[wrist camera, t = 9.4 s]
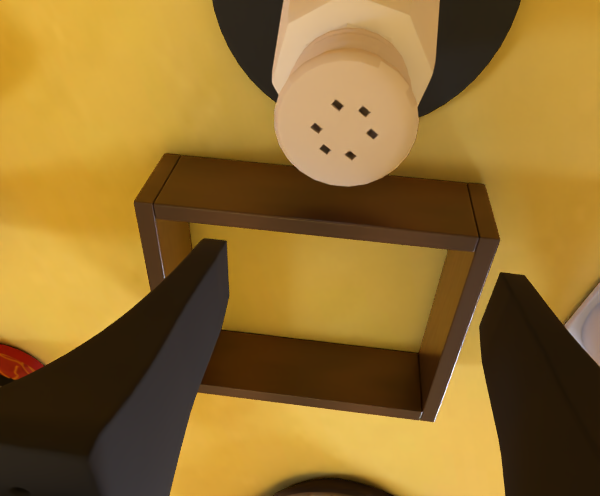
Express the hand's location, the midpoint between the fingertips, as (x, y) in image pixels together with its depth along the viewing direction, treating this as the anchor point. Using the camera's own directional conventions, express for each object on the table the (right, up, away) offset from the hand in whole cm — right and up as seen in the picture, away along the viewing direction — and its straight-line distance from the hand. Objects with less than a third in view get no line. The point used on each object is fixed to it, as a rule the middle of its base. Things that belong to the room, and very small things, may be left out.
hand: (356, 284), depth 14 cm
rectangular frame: (-1, 0, +14) cm, 14 cm away
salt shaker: (+1, +10, +5) cm, 11 cm away
